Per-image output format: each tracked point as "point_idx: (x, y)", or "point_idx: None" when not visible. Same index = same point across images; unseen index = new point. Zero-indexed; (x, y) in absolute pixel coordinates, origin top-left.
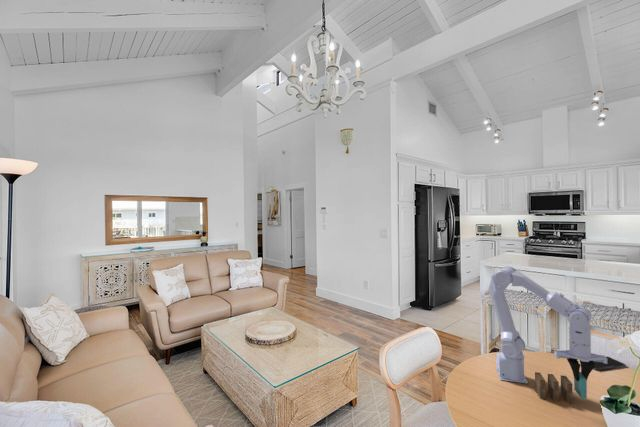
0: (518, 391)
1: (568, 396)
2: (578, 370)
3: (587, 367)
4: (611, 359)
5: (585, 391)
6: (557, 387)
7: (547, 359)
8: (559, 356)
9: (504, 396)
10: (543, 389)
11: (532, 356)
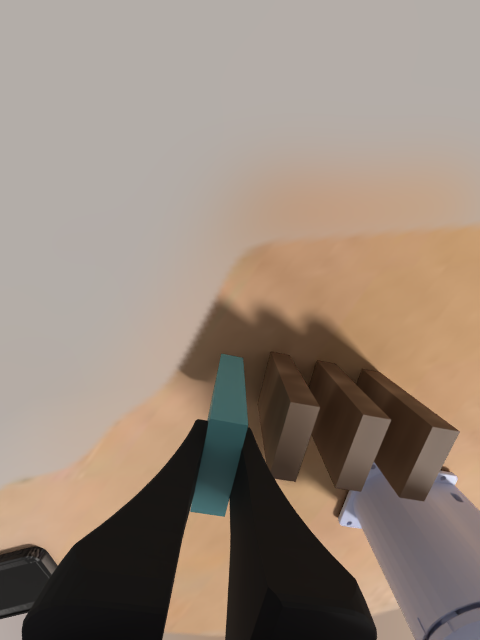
0: (432, 410)
1: (290, 366)
2: (257, 498)
3: (173, 540)
4: None
5: (223, 371)
6: (350, 394)
7: (181, 599)
8: None
9: None
10: (397, 393)
11: (225, 611)
